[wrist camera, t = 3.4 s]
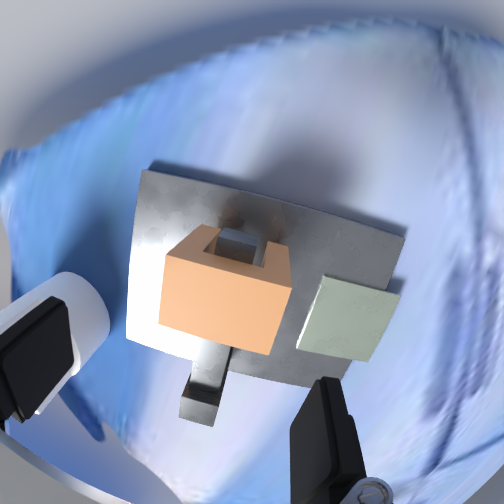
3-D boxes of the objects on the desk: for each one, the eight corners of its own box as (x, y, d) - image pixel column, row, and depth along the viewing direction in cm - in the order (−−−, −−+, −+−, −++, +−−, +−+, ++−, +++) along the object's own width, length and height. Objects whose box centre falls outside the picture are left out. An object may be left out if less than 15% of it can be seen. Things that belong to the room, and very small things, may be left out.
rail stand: (147, 169, 21) (78, 178, 13) (414, 240, 21) (474, 284, 13) (131, 332, 27) (86, 389, 18) (346, 386, 26) (360, 456, 18)
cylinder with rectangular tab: (120, 348, 27) (63, 425, 16) (64, 341, 29) (7, 400, 17) (95, 269, 25) (10, 332, 13) (39, 272, 26) (-35, 320, 14)
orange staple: (201, 223, 19) (165, 254, 13) (288, 246, 19) (291, 288, 13) (191, 276, 21) (157, 324, 14) (272, 298, 21) (268, 355, 14)
